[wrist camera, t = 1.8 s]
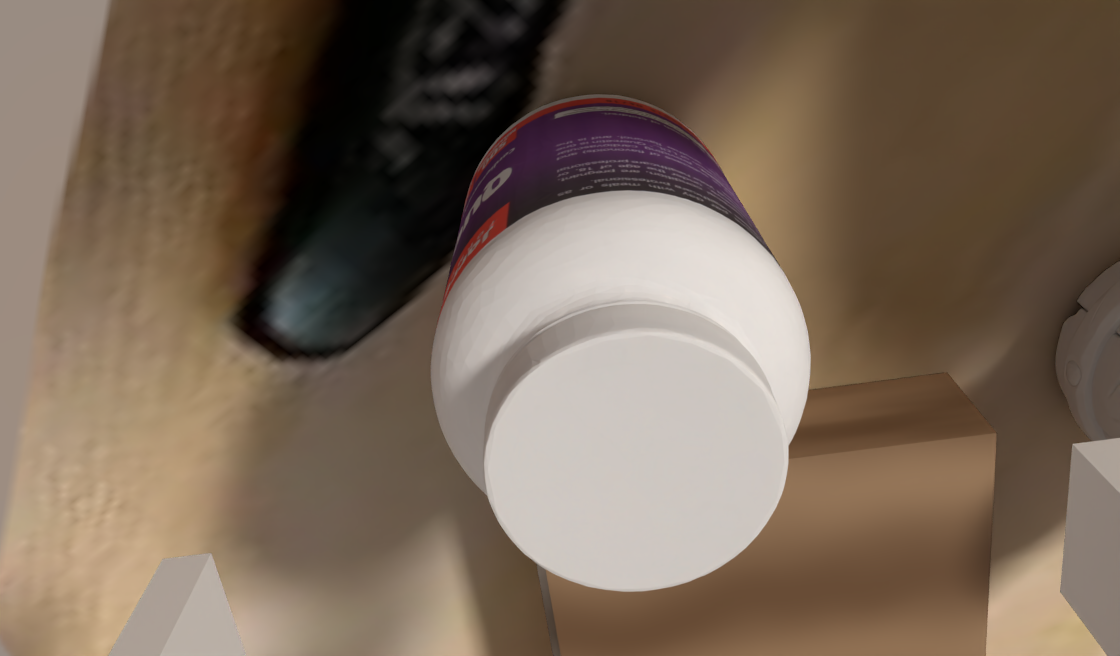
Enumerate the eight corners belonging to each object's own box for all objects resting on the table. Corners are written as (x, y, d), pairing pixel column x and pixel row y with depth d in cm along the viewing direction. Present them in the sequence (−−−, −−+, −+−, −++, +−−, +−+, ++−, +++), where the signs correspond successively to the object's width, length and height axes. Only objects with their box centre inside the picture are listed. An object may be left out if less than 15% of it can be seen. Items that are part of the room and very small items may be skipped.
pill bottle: (470, 77, 29) (409, 238, 16) (742, 96, 29) (903, 269, 16) (462, 329, 32) (405, 635, 19) (706, 343, 33) (815, 654, 19)
